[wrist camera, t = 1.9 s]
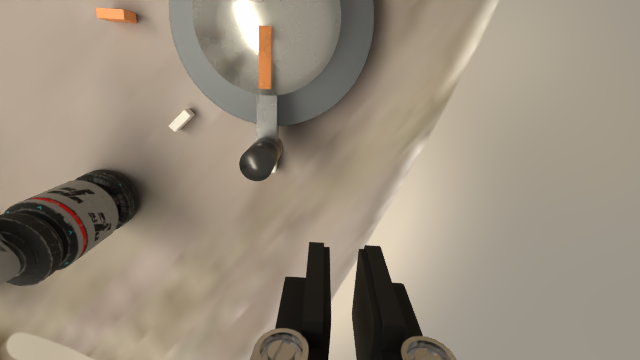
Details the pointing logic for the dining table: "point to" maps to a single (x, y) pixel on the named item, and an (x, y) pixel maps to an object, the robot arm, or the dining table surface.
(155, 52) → the dining table surface
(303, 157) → the dining table surface
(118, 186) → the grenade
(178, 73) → the dining table surface
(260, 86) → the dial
